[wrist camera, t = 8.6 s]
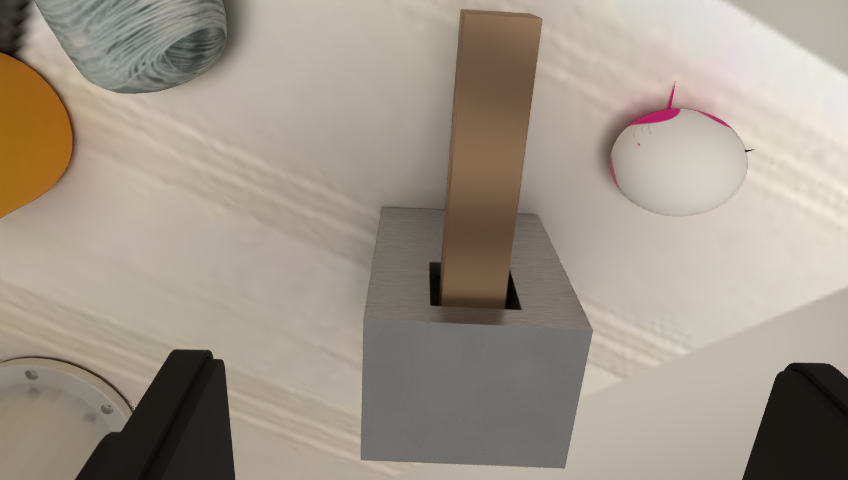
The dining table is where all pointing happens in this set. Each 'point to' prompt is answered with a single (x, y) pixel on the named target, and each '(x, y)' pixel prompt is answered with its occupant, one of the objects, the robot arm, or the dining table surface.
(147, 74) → the spool
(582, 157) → the dining table surface
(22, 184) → the beer bottle
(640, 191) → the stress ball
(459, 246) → the shaft
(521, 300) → the block
